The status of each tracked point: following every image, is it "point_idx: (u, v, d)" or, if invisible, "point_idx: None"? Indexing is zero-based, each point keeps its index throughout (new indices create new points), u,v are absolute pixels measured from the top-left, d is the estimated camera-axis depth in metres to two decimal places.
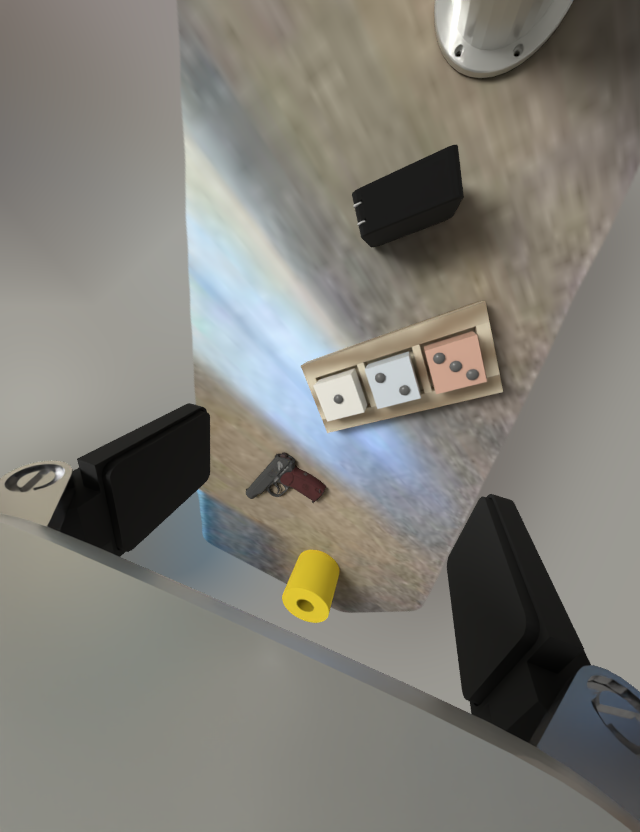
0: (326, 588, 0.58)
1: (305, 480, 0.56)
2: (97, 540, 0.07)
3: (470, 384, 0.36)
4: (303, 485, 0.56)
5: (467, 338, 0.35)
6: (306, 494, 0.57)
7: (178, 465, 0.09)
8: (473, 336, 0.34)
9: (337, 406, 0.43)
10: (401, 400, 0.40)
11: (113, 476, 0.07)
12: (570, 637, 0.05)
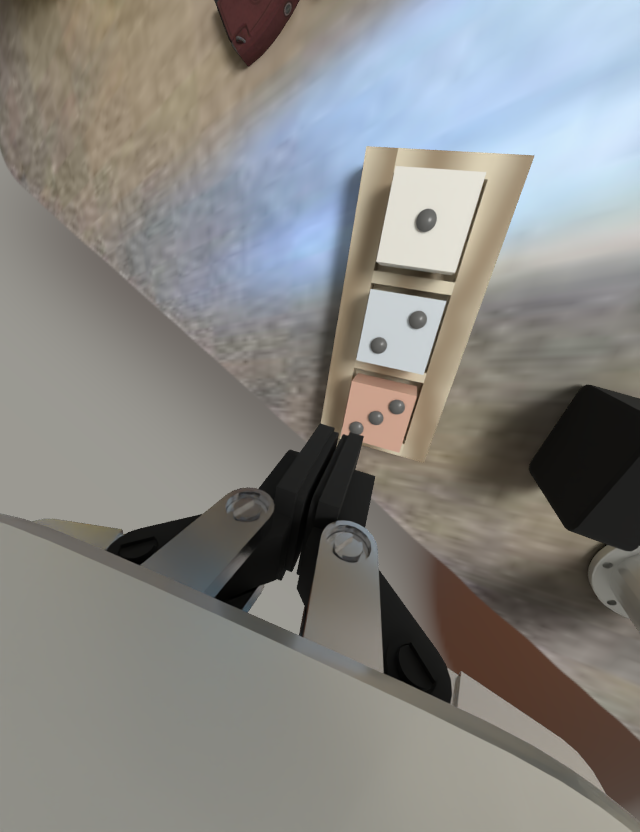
0: None
1: None
2: (281, 563, 0.07)
3: (345, 420, 0.29)
4: None
5: (401, 443, 0.28)
6: None
7: None
8: (399, 448, 0.28)
9: (414, 211, 0.21)
10: (365, 333, 0.25)
11: (302, 502, 0.07)
12: (334, 502, 0.07)
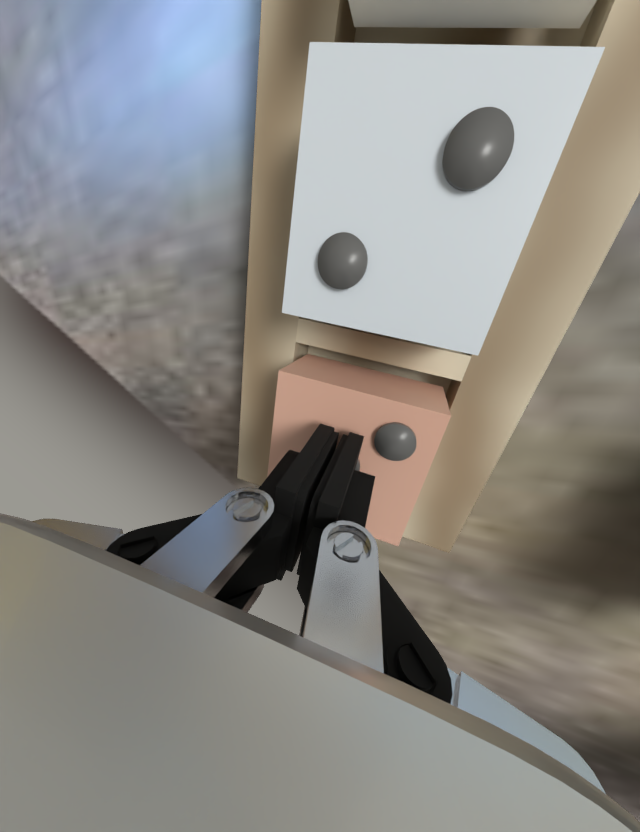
0: None
1: None
2: (280, 563, 0.07)
3: (272, 466, 0.12)
4: None
5: (403, 526, 0.11)
6: None
7: None
8: (398, 537, 0.12)
9: None
10: (303, 223, 0.08)
11: (301, 502, 0.07)
12: (334, 502, 0.07)
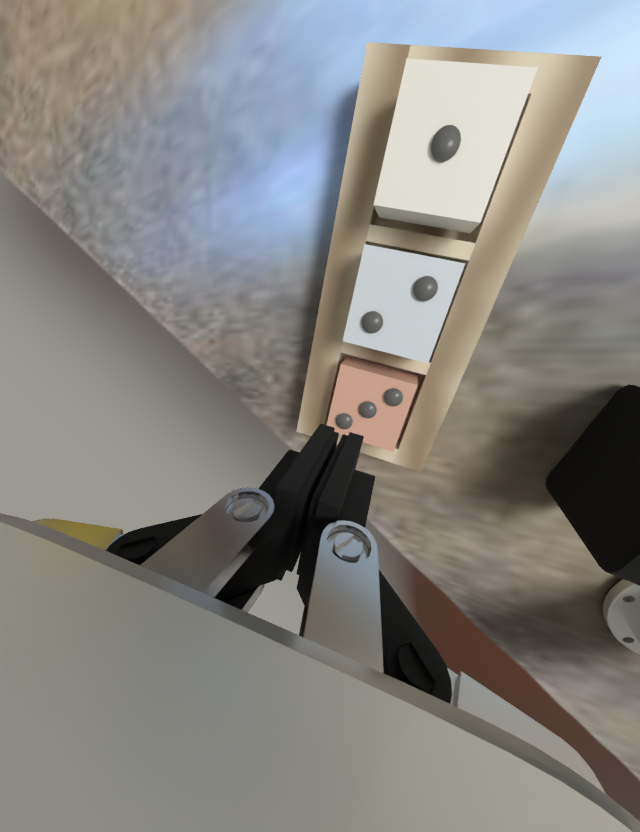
0: None
1: None
2: (281, 563, 0.07)
3: (331, 412, 0.24)
4: None
5: (396, 440, 0.24)
6: None
7: None
8: (393, 447, 0.24)
9: (429, 129, 0.15)
10: (356, 305, 0.19)
11: (302, 502, 0.07)
12: (333, 502, 0.07)
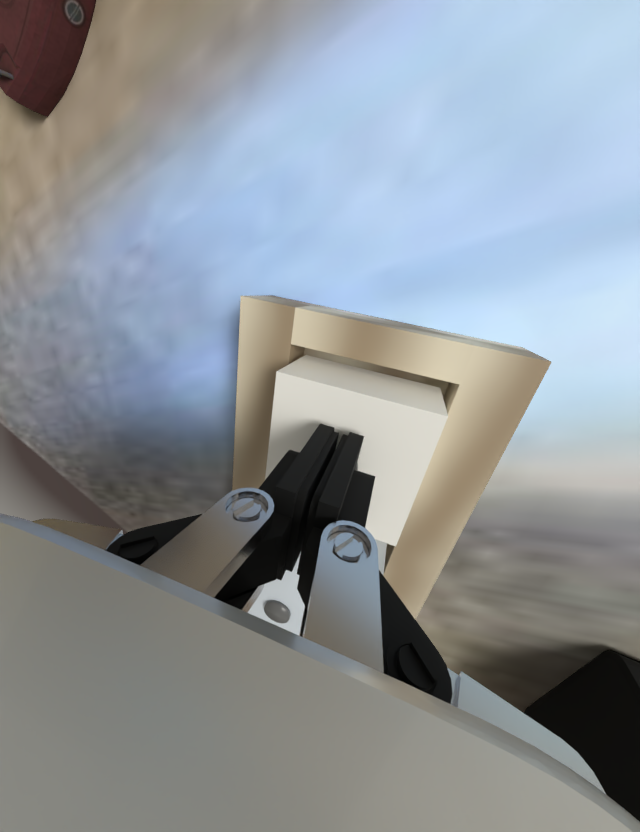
0: None
1: None
2: (280, 563, 0.07)
3: None
4: None
5: None
6: None
7: None
8: None
9: None
10: None
11: (301, 502, 0.07)
12: (334, 502, 0.07)
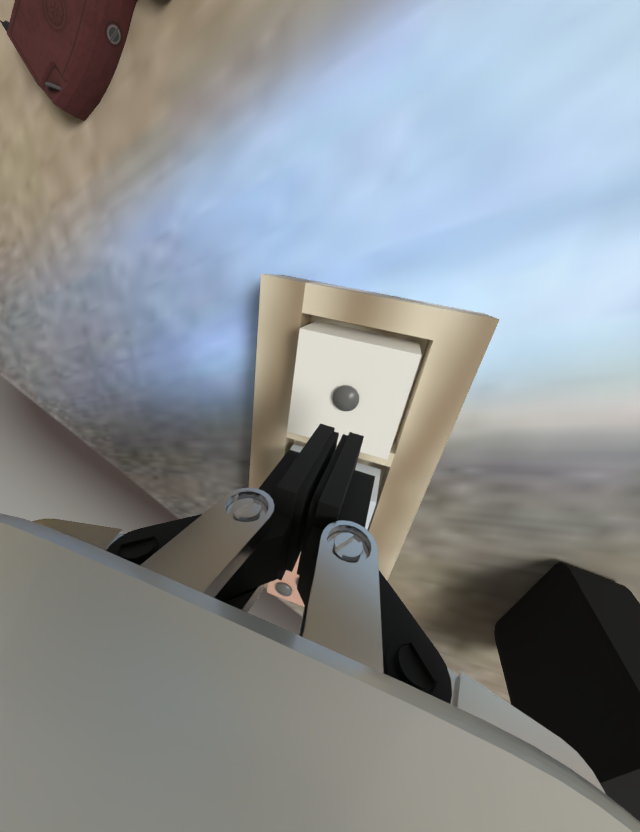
0: None
1: (82, 22, 0.14)
2: (281, 563, 0.07)
3: None
4: None
5: None
6: None
7: None
8: None
9: (329, 384, 0.15)
10: None
11: (302, 502, 0.07)
12: (333, 502, 0.07)
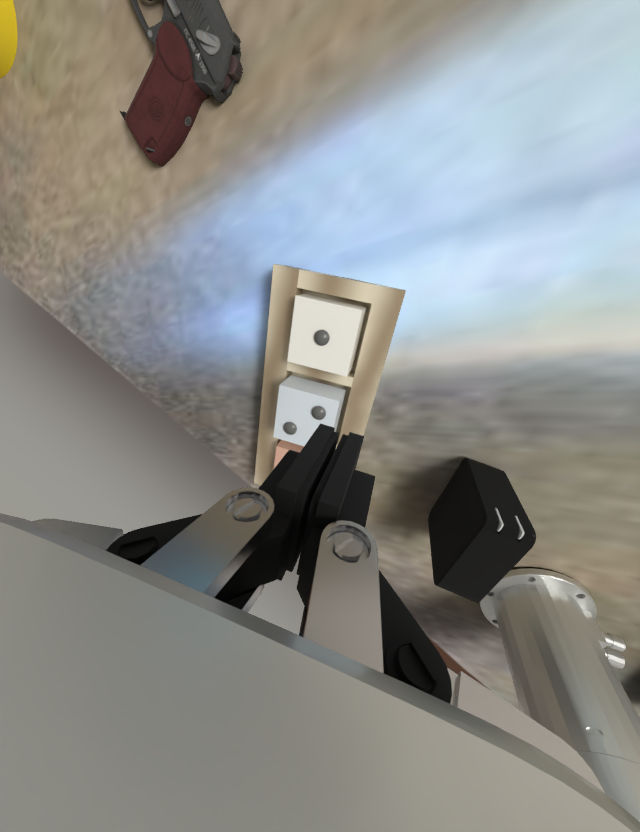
0: None
1: (172, 117, 0.25)
2: (281, 563, 0.07)
3: None
4: (160, 104, 0.24)
5: None
6: (138, 102, 0.25)
7: None
8: None
9: (312, 329, 0.26)
10: (278, 417, 0.29)
11: (302, 502, 0.07)
12: (333, 502, 0.07)
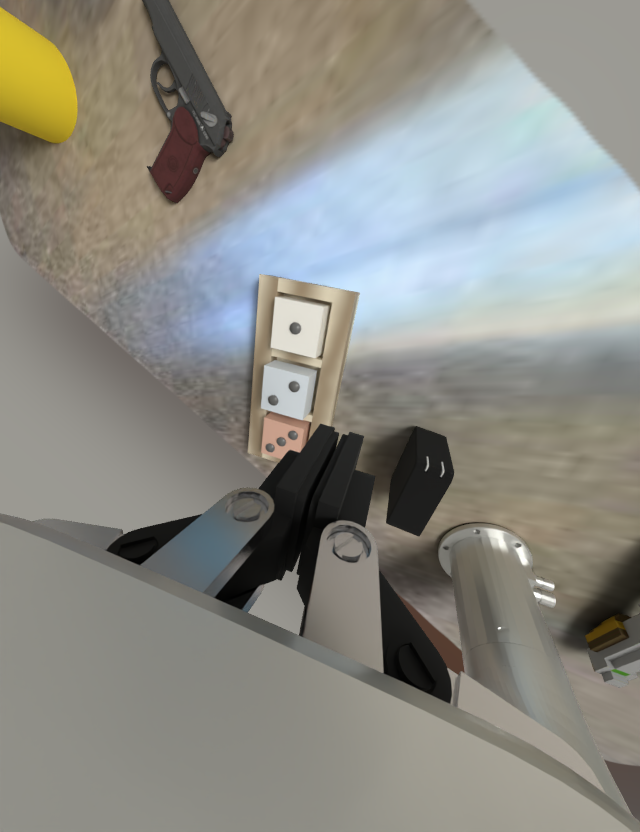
0: None
1: (184, 168, 0.34)
2: (281, 563, 0.07)
3: (263, 442, 0.42)
4: (175, 160, 0.34)
5: None
6: (160, 160, 0.34)
7: None
8: None
9: (288, 322, 0.34)
10: (264, 391, 0.37)
11: (302, 502, 0.07)
12: (333, 502, 0.07)
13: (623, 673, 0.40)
